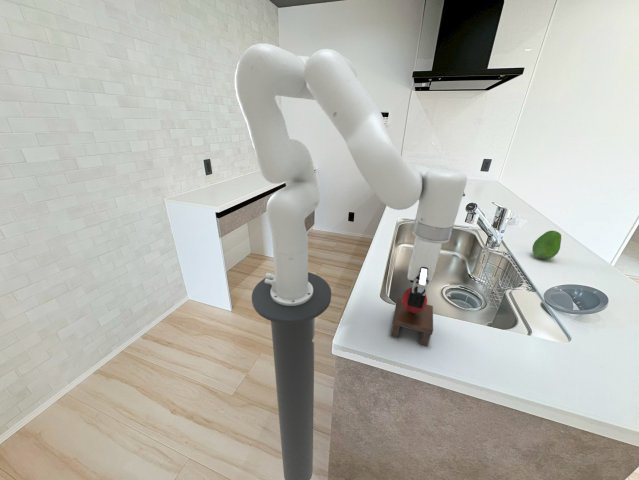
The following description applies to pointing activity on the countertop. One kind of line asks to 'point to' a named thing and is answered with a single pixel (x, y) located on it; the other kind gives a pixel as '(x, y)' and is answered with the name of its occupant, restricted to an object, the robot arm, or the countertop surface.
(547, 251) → the avocado
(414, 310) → the onion
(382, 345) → the countertop surface
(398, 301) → the stand
